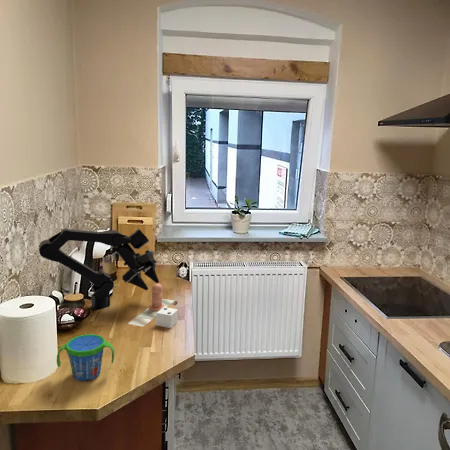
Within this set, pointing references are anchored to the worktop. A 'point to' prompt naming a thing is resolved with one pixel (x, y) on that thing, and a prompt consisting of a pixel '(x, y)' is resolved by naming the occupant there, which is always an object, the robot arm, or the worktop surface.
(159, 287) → the pawn
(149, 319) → the board
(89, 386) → the worktop surface
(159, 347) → the worktop surface
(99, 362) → the snack cup
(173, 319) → the die
